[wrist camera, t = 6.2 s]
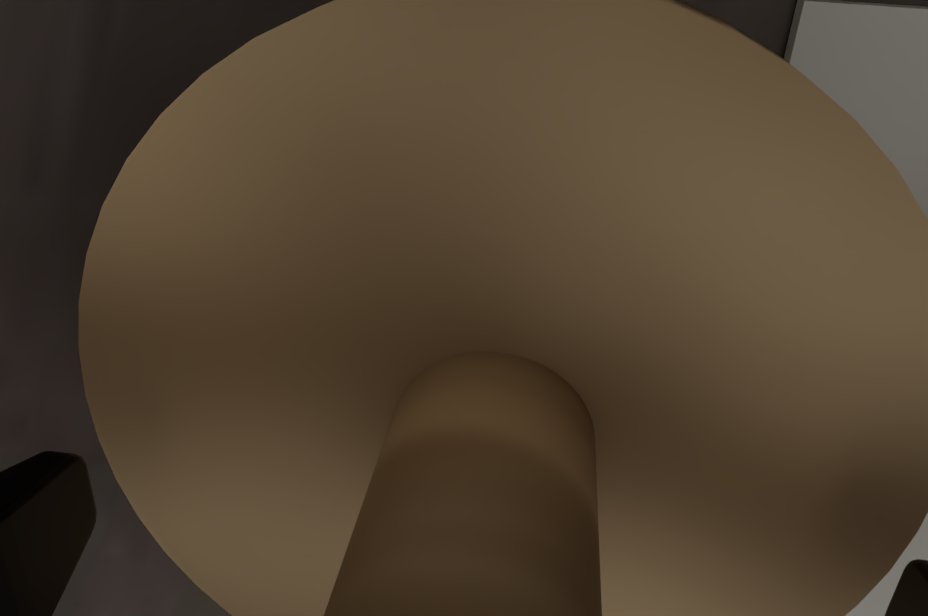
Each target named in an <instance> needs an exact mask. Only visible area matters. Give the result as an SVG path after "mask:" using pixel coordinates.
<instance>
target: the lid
mask: <svg viewBox="0 0 928 616" xmlns="http://www.w3.org/2000/svg"><path fill="white" fill-rule="evenodd" d="M79 356H80V362H81V369H82V376H83V383H84V390H85V396H86V399H87V403H88V406H89V410H90V413H91V416H92V420H93V423H94V427H95V430H96V434H97V437H98V440H99V442H100V444H101V446H102V449H103V451H104V453H105V456H106V458H107V460H108V462H109V465H110V467H111V469H112V472H113V474H114V476H115V478H116V480H117V482H118V484H119V485H120V487H121V489H122V490H123V492H124V494H125V495H126V497H127V499H128V500H129V502H130V504H131V505H132V507H133V509H134V511H135V512H136V514H137V516H138V517H139V519H140V520H141V521H142V523H143V524H144V525H145V526H146V528H147V529H148V530H149V532H150V533H151V534H152V536H153V537H154V538H155V540H156V541H157V542H158V544H159V545H160V546H161V547H162V549H163V550H164V551H165V553H166V554H167V555H168V556H169V557H170V558H171V559H172V560H173V561H174V562H175V563H176V564H177V565H178V566H179V567H180V569H181V570H182V571H183V572H184V573H185V574H186V575H187V576H188V577H189V578H190V579H191V580H192V581H193V582H194V583H195V584H196V585H197V586H198V587H199V588H200V589H201V590H203V591H204V592H205V593H206V594H207V595H208V596H209V597H211V598H212V599H213V600H214V601H215V602H216V603H218V604H219V605H220V606H221V607H222V608H223V609H225V610H226V611H227V612H228V613H229V614H231V615H232V616H845V615H846V614H847V613H849V612H850V611H851V610H852V609H854V608H855V607H856V606H857V605H858V604H859V603H860V602H861V601H862V600H863V599H864V598H865V597H866V596H867V595H868V594H869V592H870V591H871V590H872V589H873V588H874V587H875V586H876V585H877V584H878V583H879V582H880V581H881V580H882V579H883V578H884V577H885V576H886V574H887V573H888V572H889V571H890V570H891V569H892V567H893V566H894V564H895V563H896V562H897V560H898V559H899V557H900V556H901V555H902V553H903V552H904V550H905V549H906V548H907V546H908V545H909V543H910V542H911V541H912V539H913V538H914V536H915V535H916V534H917V532H918V530H919V528H920V526H921V525H922V523H923V521H924V519H925V517H926V515H927V513H928V220H927V218H926V216H925V214H924V213H923V211H922V209H921V208H920V206H919V204H918V203H917V201H916V199H915V198H914V196H913V194H912V193H911V191H910V189H909V188H908V186H907V184H906V182H905V181H904V179H903V177H902V176H901V174H900V172H899V171H898V169H897V168H896V167H895V166H894V165H893V163H892V162H891V161H890V160H889V159H888V157H887V156H886V155H885V154H884V153H883V151H882V150H881V149H880V148H879V147H878V146H877V144H876V143H875V142H874V141H873V140H872V138H871V137H870V136H869V135H868V134H867V132H866V131H865V130H864V129H863V128H862V127H861V125H860V124H859V123H858V122H857V121H856V119H854V118H853V117H852V116H851V115H850V114H849V113H848V112H846V111H845V110H844V109H843V108H842V107H841V106H839V105H838V104H837V103H836V102H835V101H834V100H832V99H831V98H830V97H829V96H828V95H827V94H826V93H824V92H823V91H822V90H821V89H820V88H819V87H817V86H816V85H815V84H814V83H813V82H812V81H810V80H809V79H808V78H807V77H806V76H805V75H804V74H802V73H801V72H800V71H798V70H797V69H796V68H795V67H793V66H792V65H791V64H789V63H788V62H787V61H786V60H784V59H783V58H782V57H780V56H779V55H778V54H776V53H774V52H773V51H771V50H770V49H768V48H766V47H765V46H763V45H762V44H760V43H758V42H757V41H755V40H754V39H752V38H750V37H749V36H747V35H746V34H744V33H743V32H741V31H739V30H738V29H736V28H735V27H733V26H731V25H730V24H728V23H727V22H725V21H723V20H721V19H719V18H716V17H714V16H712V15H709V14H707V13H705V12H703V11H700V10H698V9H696V8H693V7H691V6H689V5H687V4H684V3H682V2H680V1H678V0H333V1H331V2H329V3H326V4H324V5H322V6H320V7H317V8H315V9H313V10H311V11H309V12H307V13H305V14H302V15H300V16H298V17H296V18H294V19H292V20H290V21H288V22H286V23H284V24H282V25H280V26H278V27H276V28H274V29H272V30H270V31H267V32H265V33H263V34H261V35H259V36H257V37H255V38H253V39H252V40H251V41H249V42H248V43H246V44H245V45H243V46H242V47H240V48H239V49H238V50H236V51H235V52H233V53H232V54H230V55H229V56H227V57H226V58H225V59H223V60H222V61H220V62H219V63H217V64H216V65H214V66H213V67H212V68H210V69H209V70H207V71H206V72H204V73H203V74H202V75H201V76H200V77H199V78H198V79H197V80H196V81H195V82H194V83H192V84H191V85H190V86H189V87H188V88H187V89H186V90H185V91H184V92H183V93H182V94H181V95H180V96H179V97H178V98H177V99H176V100H175V101H174V102H173V103H172V104H171V105H170V106H168V107H167V108H166V109H165V110H164V111H163V112H162V113H161V114H160V115H159V117H158V118H157V119H156V121H155V122H154V123H153V125H152V126H151V127H150V129H149V130H148V131H147V133H146V134H145V135H144V137H143V138H142V139H141V141H140V142H139V143H138V145H137V146H136V147H135V149H134V150H133V151H132V153H131V154H130V155H129V157H128V158H127V159H126V161H125V163H124V165H123V167H122V169H121V171H120V173H119V175H118V177H117V178H116V180H115V182H114V184H113V186H112V188H111V190H110V192H109V194H108V196H107V198H106V200H105V201H104V203H103V205H102V208H101V211H100V214H99V217H98V220H97V223H96V226H95V229H94V232H93V235H92V238H91V241H90V244H89V247H88V250H87V254H86V259H85V266H84V272H83V278H82V284H81V291H80V297H79Z"/></svg>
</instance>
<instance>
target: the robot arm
mask: <svg viewBox="0 0 928 616" xmlns="http://www.w3.org/2000/svg"><path fill="white" fill-rule="evenodd" d="M95 522H96V505H95V501H94V496H93V492H92V487H91V483H90V478H89V473H88V469H87V465H86V462H85V461H84V459H83V458H82V457H81V456H79V455H77V454H71V453H63V452H54V451H45V452H41V453H39V454H37V455H35V456H33V457H31V458H28V459H26V460H24V461H22V462H20V463H18V464H16V465H14V466H12V467H10V468H8V469H6V470H3V471H1V472H0V616H52V614H53V612H54V610H55V608H56V606H57V604H58V602H59V600H60V598H61V596H62V594H63V592H64V590H65V588H66V585H67V583H68V581H69V579H70V577H71V575H72V573H73V571H74V569H75V567H76V565H77V563H78V561H79V559H80V557H81V555H82V552H83V550H84V548H85V546H86V544H87V542H88V540H89V538H90V536H91V534H92V531H93V529H94V526H95ZM885 616H928V560H922V559H916V560H912V561H910V562H909V563H908V564H907V565H906V567H905V569H904V570H903V573H902V575H901V577H900V580H899V582H898V584H897V587H896V589H895V591H894V594H893V596H892V598H891V601H890V603H889V605H888V608H887V610H886V613H885Z"/></svg>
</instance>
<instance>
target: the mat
mask: <svg viewBox="0 0 928 616" xmlns="http://www.w3.org/2000/svg"><path fill="white" fill-rule="evenodd" d="M784 60H786V61H787V62H788V63H789V64H791V65H792V66H793V67H795V68H796V69H797V70H798V71H800V72H801V73H802V74H804V75H805V76H806V77H807V78H808V79H809V80H810V81H812V82H813V83H814V84H815V85H816V86H817V87H819V88H820V89H821V90H822V91H823V92H824V93H826V94H827V95H828V96H829V97H830V98H831V99H832V100H834V101H835V102H836V103H837V104H838V105H839V106H841V107H842V108H843V109H844V110H845V111H846V112H848V113H849V114H850V115H851V116H852V117H853V118H854V119H856V121H857V122H858V123H859V124H860V125H861V127H862V128H863V129H864V130H865V131H866V132H867V134H868V135H869V136H870V137H871V138H872V140H873V141H874V142H875V143H876V144H877V146H878V147H879V148H880V149H881V150H882V151H883V153H884V154H885V155H886V156H887V157H888V159H889V160H890V161H891V162H892V163H893V165H894V166H895V167H896V168H897V169H898V171H899V172H900V174H901V176H902V177H903V179H904V181H905V182H906V184H907V186H908V188H909V189H910V191H911V193H912V194H913V196H914V198H915V199H916V201H917V203H918V204H919V206H920V208H921V209H922V211H923V213H924V214H925V216H926V218H927V220H928V7H925V6H910V5H896V4H881V3H867V2H852V1H837V0H797V4H796V8H795V12H794V17H793V21H792V25H791V29H790V34H789V38H788V42H787V46H786V51H785V55H784ZM916 559H922V560H928V513H927V515H926V517H925V519H924V521H923V523H922V525H921V526H920V528H919V530H918V532H917V534H916V535H915V536H914V538H913V539H912V541H911V542H910V543H909V545H908V546H907V548H906V549H905V550H904V552H903V553H902V555H901V556H900V557H899V559H898V560H897V562H896V563H895V564H894V566H893V567H892V569H891V570H890V571H889V572H888V573H887V574H886V576H885V577H884V578H883V579H882V580H881V581H880V582H879V583H878V584H877V585H876V586H875V587H874V588H873V589H872V590H871V591H870V592H869V594H868V595H867V596H866V597H865V598H864V599H863V600H862V601H861V602H860V603H859V604H858V605H857V606H856V607H855V608H854V609H852V610H851V611H850V612H849V613H847V614H846V615H845V616H885V613H886V610H887V608H888V605H889V603H890V601H891V598H892V596H893V594H894V591H895V589H896V587H897V584H898V582H899V580H900V577H901V575H902V573H903V570H904V569H905V567H906V565H907V564H908V563H909V562H910V561H912V560H916Z"/></svg>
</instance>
